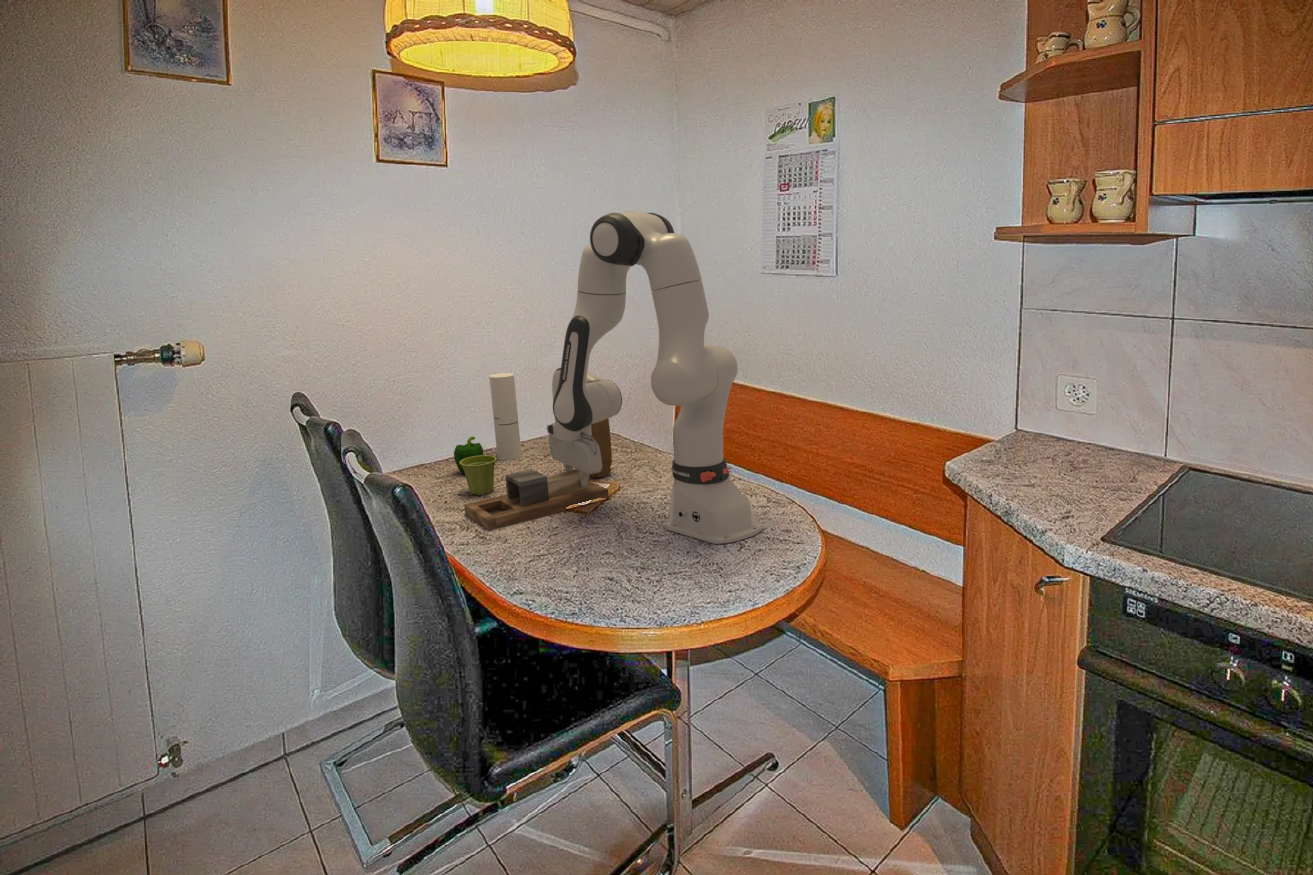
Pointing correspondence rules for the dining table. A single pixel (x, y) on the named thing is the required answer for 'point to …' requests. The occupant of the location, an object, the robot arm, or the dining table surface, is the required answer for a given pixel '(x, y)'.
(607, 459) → the block
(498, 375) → the cylindrical container
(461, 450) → the bell pepper
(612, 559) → the dining table surface
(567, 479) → the birch bar
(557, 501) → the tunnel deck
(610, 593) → the dining table surface
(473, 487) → the plant pot
